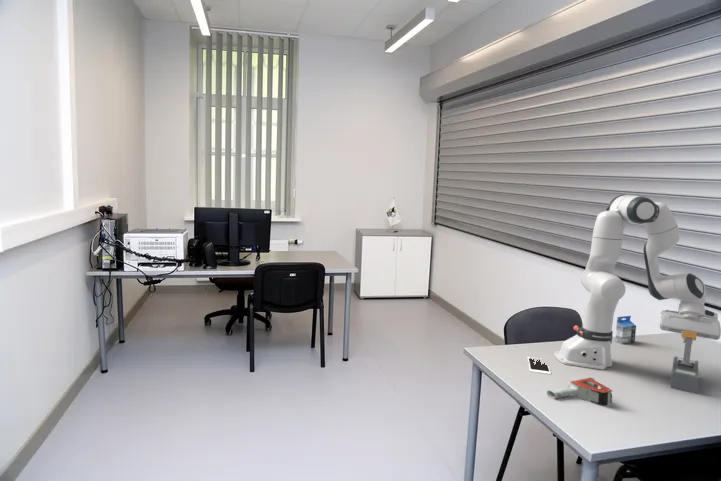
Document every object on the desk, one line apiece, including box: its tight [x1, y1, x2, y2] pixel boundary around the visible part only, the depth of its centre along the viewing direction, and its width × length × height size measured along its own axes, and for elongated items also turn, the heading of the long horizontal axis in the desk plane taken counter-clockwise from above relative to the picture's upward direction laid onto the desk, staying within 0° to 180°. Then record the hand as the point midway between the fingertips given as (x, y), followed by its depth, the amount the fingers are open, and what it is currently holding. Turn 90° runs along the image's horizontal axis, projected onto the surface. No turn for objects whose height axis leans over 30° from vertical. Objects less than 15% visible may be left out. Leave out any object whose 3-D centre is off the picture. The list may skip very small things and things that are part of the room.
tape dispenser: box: [546, 376, 613, 406], centre depth 166 cm, size 18×5×20 cm
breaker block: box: [670, 356, 700, 395], centre depth 181 cm, size 20×8×9 cm, turn 145°
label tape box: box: [614, 315, 637, 345], centre depth 226 cm, size 9×4×12 cm, turn 111°
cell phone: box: [526, 356, 552, 375], centre depth 193 cm, size 8×16×1 cm, turn 164°
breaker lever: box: [678, 330, 697, 368], centre depth 183 cm, size 3×5×14 cm, turn 55°
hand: (687, 343), depth 187 cm, fingers closed
